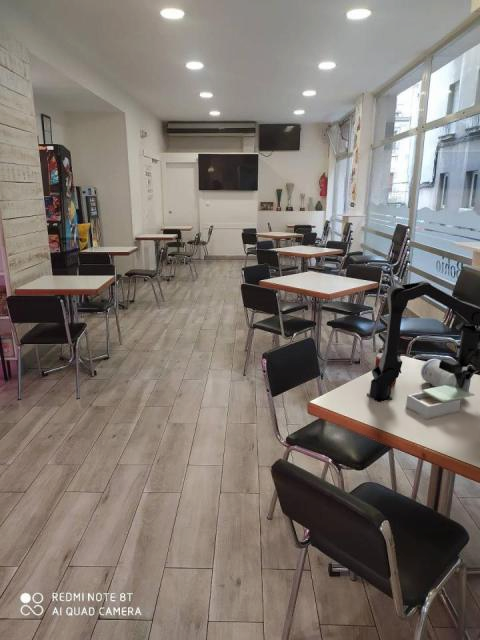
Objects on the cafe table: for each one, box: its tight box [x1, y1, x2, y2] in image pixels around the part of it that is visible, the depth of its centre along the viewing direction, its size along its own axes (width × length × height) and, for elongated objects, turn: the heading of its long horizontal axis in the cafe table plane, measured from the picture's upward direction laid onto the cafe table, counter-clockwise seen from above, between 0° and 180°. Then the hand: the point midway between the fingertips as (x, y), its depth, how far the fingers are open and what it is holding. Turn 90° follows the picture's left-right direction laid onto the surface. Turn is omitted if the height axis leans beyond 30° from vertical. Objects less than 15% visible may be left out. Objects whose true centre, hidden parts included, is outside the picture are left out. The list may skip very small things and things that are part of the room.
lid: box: [421, 378, 475, 402], centre depth 147 cm, size 14×9×5 cm, turn 113°
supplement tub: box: [420, 358, 456, 388], centre depth 161 cm, size 10×10×15 cm
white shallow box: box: [405, 391, 462, 420], centre depth 145 cm, size 14×9×4 cm, turn 113°
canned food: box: [374, 352, 397, 388], centre depth 165 cm, size 8×8×11 cm
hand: (462, 387), depth 149 cm, fingers closed on lid
